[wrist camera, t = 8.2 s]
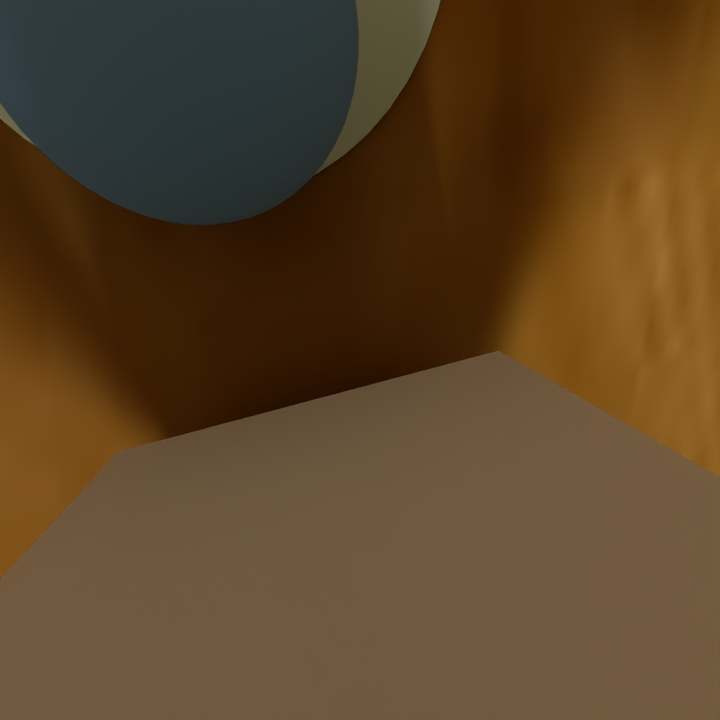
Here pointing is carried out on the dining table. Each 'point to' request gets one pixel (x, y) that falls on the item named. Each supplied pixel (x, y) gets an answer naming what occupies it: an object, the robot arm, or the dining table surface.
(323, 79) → the ball
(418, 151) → the dining table surface
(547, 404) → the white block
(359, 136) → the disc
